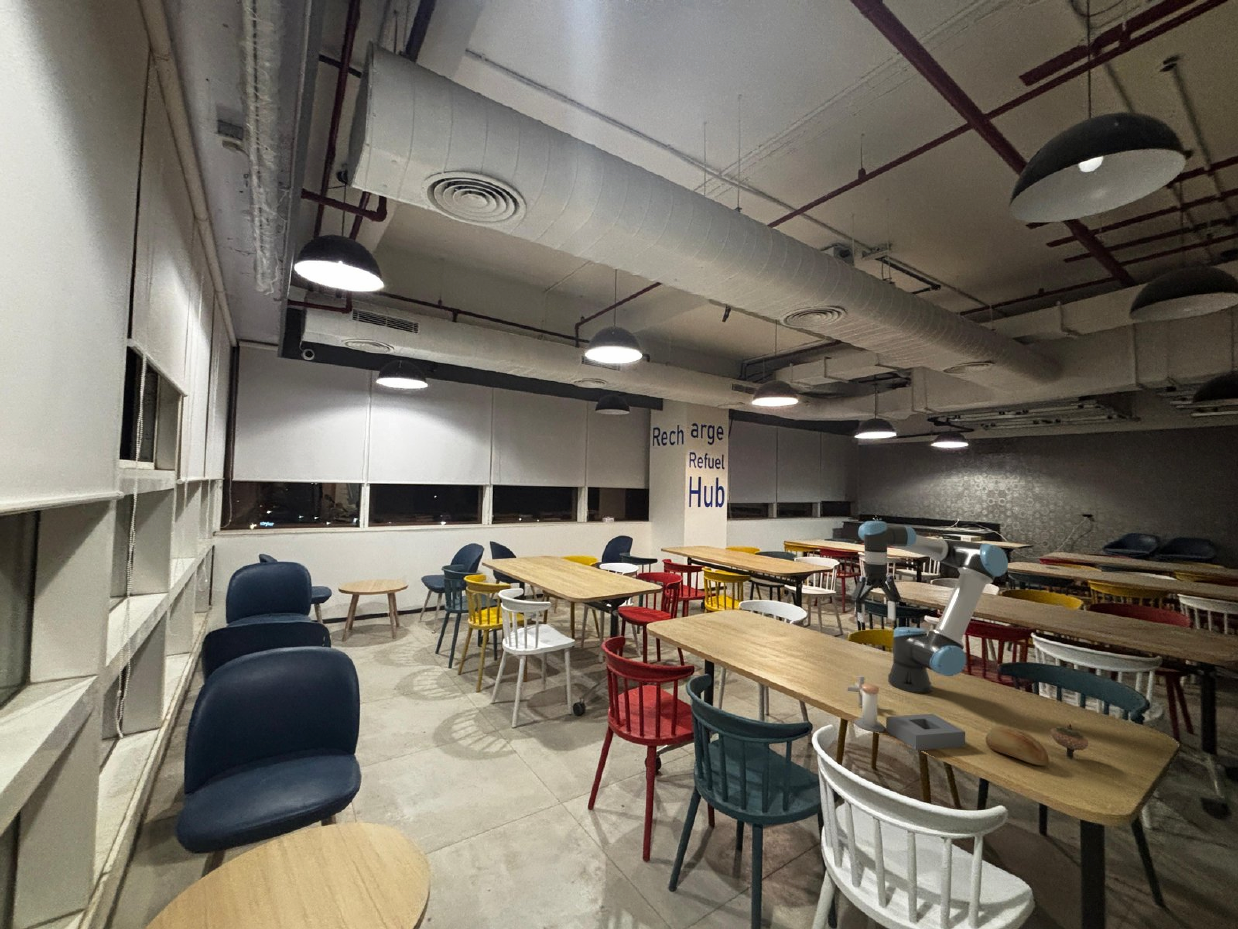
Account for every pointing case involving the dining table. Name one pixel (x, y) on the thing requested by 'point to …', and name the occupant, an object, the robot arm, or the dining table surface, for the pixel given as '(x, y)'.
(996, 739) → the bread roll
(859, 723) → the grey round plate
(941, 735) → the grey flat block
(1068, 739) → the brown spinning top
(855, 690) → the pipe connector
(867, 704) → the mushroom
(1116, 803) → the dining table surface
